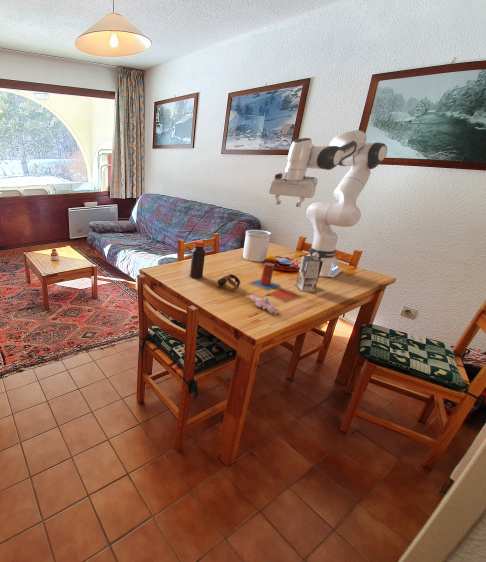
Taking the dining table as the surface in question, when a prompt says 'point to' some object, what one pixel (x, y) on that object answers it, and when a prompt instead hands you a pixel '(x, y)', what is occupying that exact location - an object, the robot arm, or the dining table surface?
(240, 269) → the dining table surface
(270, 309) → the pink elongated piece
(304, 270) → the coffee box
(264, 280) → the rust-red canister
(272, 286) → the blue mat
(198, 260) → the bottle
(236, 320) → the dining table surface
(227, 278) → the brown headphones
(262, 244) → the utensil holder
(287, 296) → the terracotta mat
